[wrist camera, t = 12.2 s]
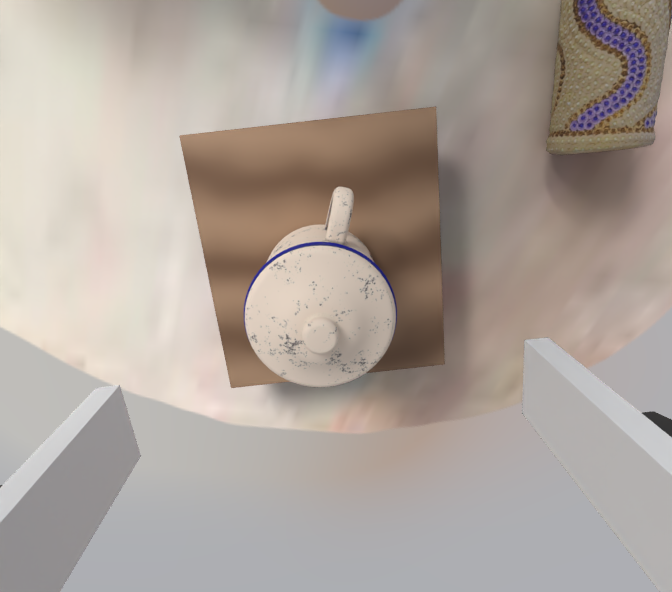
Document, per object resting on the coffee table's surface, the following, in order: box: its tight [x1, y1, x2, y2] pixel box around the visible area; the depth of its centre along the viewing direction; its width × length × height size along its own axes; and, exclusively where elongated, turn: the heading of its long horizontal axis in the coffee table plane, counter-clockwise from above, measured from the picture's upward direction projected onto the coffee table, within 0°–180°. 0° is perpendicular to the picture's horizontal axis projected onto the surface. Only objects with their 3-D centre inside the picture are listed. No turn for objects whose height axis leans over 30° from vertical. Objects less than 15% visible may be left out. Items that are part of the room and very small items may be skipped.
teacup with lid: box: [244, 187, 397, 387], centre depth 28 cm, size 12×9×12 cm
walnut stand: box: [180, 107, 445, 388], centre depth 36 cm, size 20×18×6 cm
